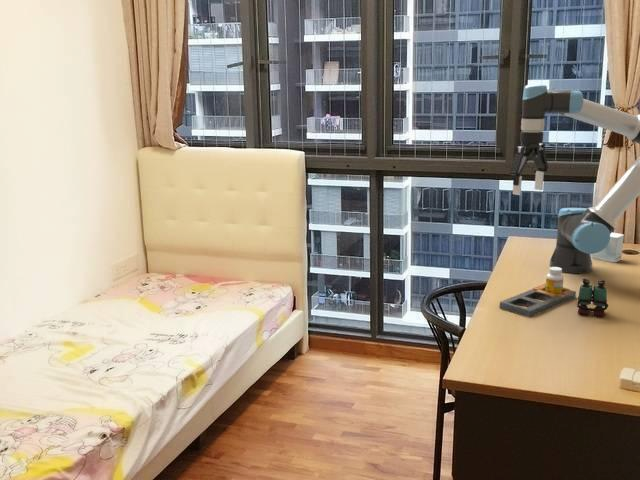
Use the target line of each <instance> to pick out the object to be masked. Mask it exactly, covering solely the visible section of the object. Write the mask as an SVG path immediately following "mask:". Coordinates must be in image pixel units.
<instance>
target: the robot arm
mask: <svg viewBox="0 0 640 480" xmlns="http://www.w3.org/2000/svg"><path fill="white" fill-rule="evenodd" d="M521 107H522V108H521V109H522V111H521V112H522V113H521V121H520V123H521V125H520V130H521V131H520V135H519V136H520V137H519V141H520V143H522V146H519V145H518V146H516V152H515V155H514V158H513V161H512V164H511V166H510V170H509V174H510V176H513V179H512V181H513V182H512V194H513V195H516V196H521V193H522V182H523V180H522V179H523V176H521V175H522V173H523V172H524V169H525V168H526V167H525V166H526V165H527V163H528V161H530V160H533V163H534V165H535V167H536V169H537V170H536V171H535V176H534V178H535V179H534V190H537V191H543V187H544V174H545V172H548V169H549V164H548V158H547V154H546V144H545V143H543V142H544V132H543V131H544V130H545V119H546V118H545V117H546V114H560V115H564V116H565V117H569V118H571V119H574V120H577V121H581V122H583V123H586V124H590V125H592V126H595V127H599V128H602V129H605V130H607V131H611V132H614V133H617V134H619V135H623V136H625V137H626V139H627V140H628V141H630V142H631V141H632V142H634V143H637V144H639V145H640V114H636V115H633V114H632V113H628V112H625V111H623V110H619V109H616V108H612V107H610V106H607V105H604V104H601V103H598V102H596V101H595V102H594V101H592V100H589V99H585V98H584V94H583V92H582V91H580V90H573V89H572V90H564V89H563V90H562V89H555V88H549V89H548V85H546V84H527V85H525V86H524V88H523V94H522V106H521ZM639 196H640V155H639V156H638V157H637V158H636V159H635V160H634V161H633V163H631V165H630V166H629V167H628V168H627V169H626V171H624V173H623V174H622V175H621V177H619V179H617V181H616V182H615V183H614V185H612V187H611V188H610V189H609V190H608V191H607V192H606V193H605V195H604V196H602V198H601V199H600V200H599V201H598V202H597V203H596V205H595V206H592V207H591V206H590V207H587V208H584V207H562V208H560V209H559V212H558V216H557V218H558V219H557V231H556V245H555V248H554V250H553V252H552V255H551V257H550V259H549V268H550V267H559V268H562V272H563V273H568V274H569V273H571V274H583V273H590V272H591V271H592V270H593V262H592V258H591V256H590V254H593V253H598V252H600V251H602V250H603V249H605V248H606V247H607V245H608V244H609V241H610V234H611V233H612V232H613V233H614V231H615V230H616V222H617V221H618V219H619V218H621V216H622V215H623V214H624V213H625V212H626V210H627V209H629V207H630V206H631V205H632V204H633V203H634V202H635V201H636V199H637V198H638V197H639Z"/></svg>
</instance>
